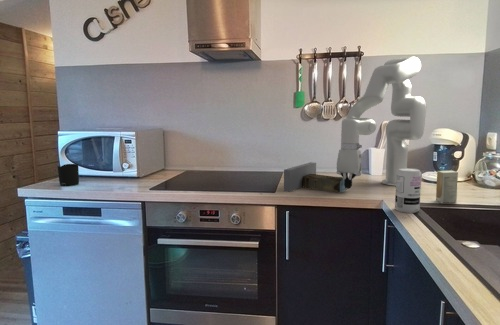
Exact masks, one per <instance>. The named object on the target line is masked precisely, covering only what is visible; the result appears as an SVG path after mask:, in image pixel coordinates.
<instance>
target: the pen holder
mask: <svg viewBox="0 0 500 325" xmlns="http://www.w3.org/2000/svg"><path fill="white" fill-rule="evenodd" d="M56 168H57V173H58V181H59V185H60V186H61V187H73V186H76V185H79V183H80V177H79V176H80V172H79V164H78V163H67V164H63V165H61V166H59V165H57V167H56Z"/></svg>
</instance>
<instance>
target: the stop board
mask: <svg viewBox="0 0 500 325" xmlns="http://www.w3.org/2000/svg"><path fill="white" fill-rule="evenodd" d="M308 174H317V162H315V161H314V162H312V161H311V162H308V163H303V164H300V165H297V166H291V167H288V168H285V169H283V192H284V193H291V192H294V191H296V190H299V189H303V176H305V175H308Z"/></svg>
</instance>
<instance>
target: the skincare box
mask: <svg viewBox="0 0 500 325" xmlns="http://www.w3.org/2000/svg"><path fill="white" fill-rule="evenodd" d="M458 178H459V172H458V171H456V170H437V172H436V190H435V191H436V192H435V193H436V194H435V201H437V202H439V203H441V204H443V203H442V202H449V203H457V197H458V196H457V195H458V180H459V179H458Z"/></svg>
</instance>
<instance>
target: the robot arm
mask: <svg viewBox="0 0 500 325" xmlns="http://www.w3.org/2000/svg"><path fill="white" fill-rule="evenodd" d="M421 68H422V62H421V60H420V59H419V57H416V56H408V57H401V58H400V57H399V58H394V59H390V60H388V61H386V62H384V65H379V66H376V68H374V70H373V71H372V74H371V77H370V78H369V81H368V84H367V86H366V88H365V92H364V94H363V95H362V96H361V97H360V98H358V100H357V101H355V103H354V104H353V105H352V106H351V107H350V109H349V111H348V112H347V115H346V118H343V119H342V121H341V127H340V128H341V130H340V131H341V132H340V137H341V138H340V149H339V150H338V153H337V160H336V175H339V176H340V177H343V178H344V186H345V188H346V190H347V189H351V188H352V187H353V179H355V178H356V177H360V176H361V175H362V173H361V172H362V171H363V170H362V169H363V168H362V167H363V165H362V163H363V162H362V151H361V150H360V149H362V147H363V146H362V144H360V136H370V135H372V134H374V133H375V132H376V130H377V123H376V121H375V120H374V119H372V118H368V117H362V116H363V114H364V113H365V112H366V111H368V110H369V109H371V108H373V107H376V106H377V105H379V104H381V103H382V102H383V100H384V98H385V95H386V93H387V90H388V88H389V86H390V85H391V89H392V90H391V91H392V92H391V103H390V112H391V113H390V114H391V115H392V116H394V117H400V118H401V117H403V118H406V117H407V118H409V117H410V118H409V119H391V120H390V121H388V122H387V124H386V125H385V137H386V158H385V178H384V179H382V180H381V183H382V184H383V185H387V186H395V187H396V175H397V172H398V170H399V169H401V168H408V154H409V153H408V152H409V151H408V150H409V149H408V144H407V142H406V141H417V140H420V139H421V138H422V137H423V135H424V131H425V125H426V117H427V103H426V101H425V99H424V98H423V97H422V96H417V95H415V96H414V95H413V96H412V88H413V87H412V84H411V81H410V79H411V78H414V77H416V76H417V75H418V74H419V73H420V71H421Z"/></svg>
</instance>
